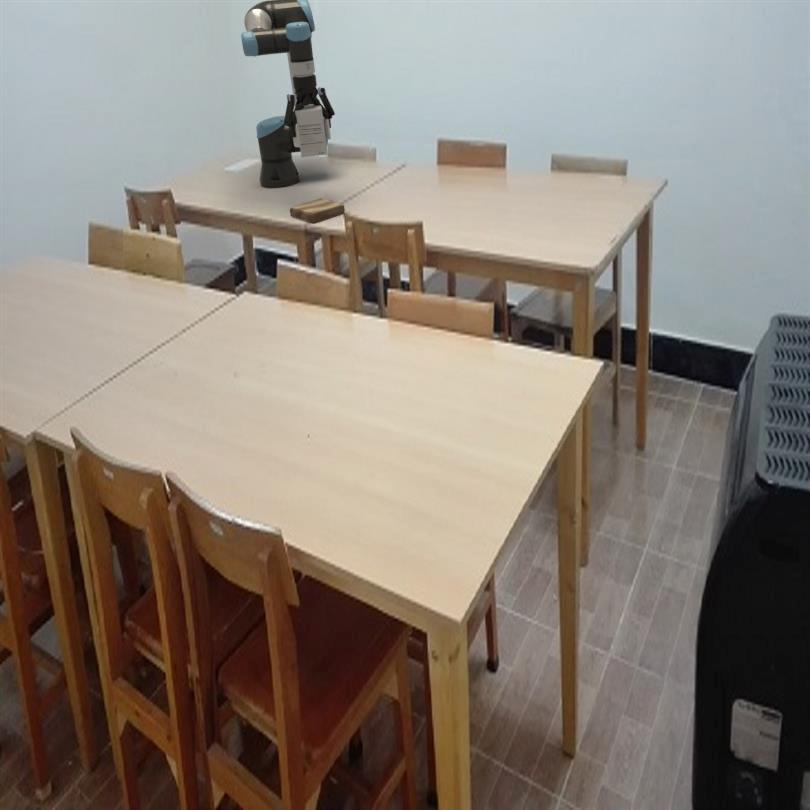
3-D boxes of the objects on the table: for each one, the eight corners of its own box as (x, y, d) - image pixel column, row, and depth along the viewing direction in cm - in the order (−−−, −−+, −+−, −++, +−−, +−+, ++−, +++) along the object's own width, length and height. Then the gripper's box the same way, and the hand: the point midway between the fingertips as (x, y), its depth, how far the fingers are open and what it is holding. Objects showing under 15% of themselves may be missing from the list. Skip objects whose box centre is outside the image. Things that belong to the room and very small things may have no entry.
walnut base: (290, 216, 273) (289, 207, 272) (321, 206, 280) (320, 197, 279) (313, 223, 264) (312, 214, 263) (345, 213, 272) (343, 204, 270)
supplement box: (301, 151, 281) (294, 105, 274) (327, 148, 282) (321, 103, 274) (300, 157, 273) (294, 111, 266) (327, 154, 274) (321, 108, 266)
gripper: (279, 82, 256) (289, 152, 267) (340, 69, 269) (347, 136, 280) (266, 80, 261) (276, 149, 272) (326, 67, 274) (334, 133, 285)
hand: (312, 142), depth 276 cm, fingers closed on supplement box, 12 cm apart
